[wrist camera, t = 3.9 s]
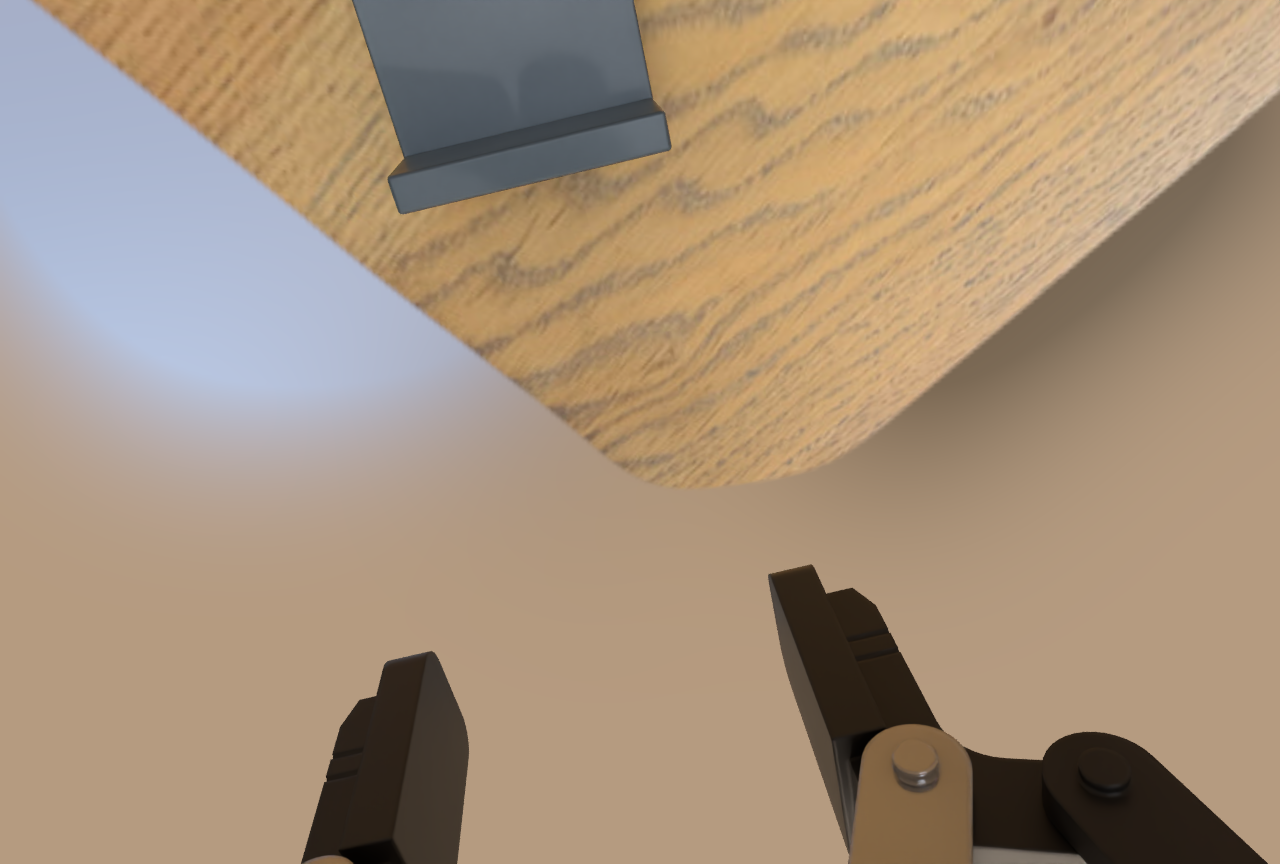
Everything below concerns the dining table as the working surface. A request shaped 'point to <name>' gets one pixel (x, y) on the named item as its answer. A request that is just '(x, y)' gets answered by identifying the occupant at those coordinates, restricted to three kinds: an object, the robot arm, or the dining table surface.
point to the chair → (508, 92)
